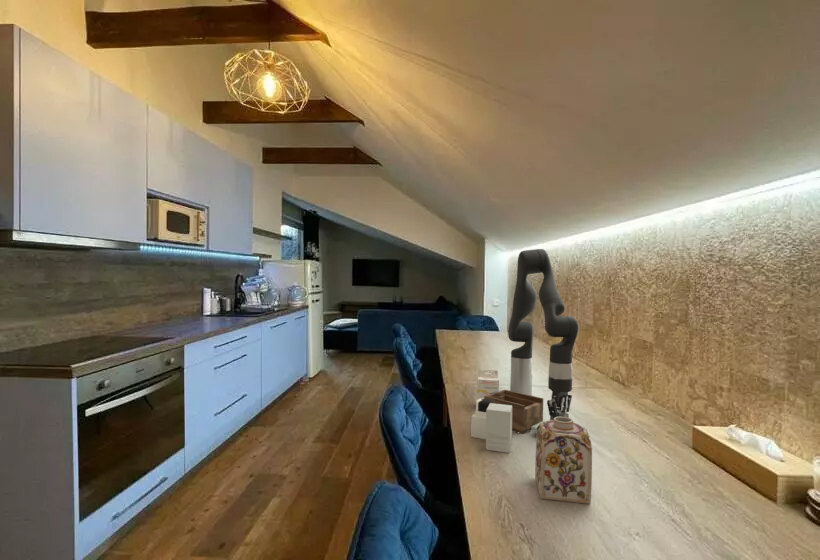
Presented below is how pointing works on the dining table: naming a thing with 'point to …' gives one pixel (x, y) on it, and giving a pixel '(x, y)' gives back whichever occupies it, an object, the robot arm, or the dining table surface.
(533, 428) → the lid
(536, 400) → the box
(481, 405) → the medicine bottle
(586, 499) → the decorative jar
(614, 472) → the dining table surface
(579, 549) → the dining table surface
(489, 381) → the ink cartridge box
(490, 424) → the supplement box
